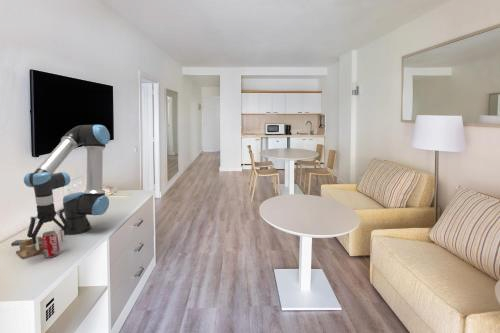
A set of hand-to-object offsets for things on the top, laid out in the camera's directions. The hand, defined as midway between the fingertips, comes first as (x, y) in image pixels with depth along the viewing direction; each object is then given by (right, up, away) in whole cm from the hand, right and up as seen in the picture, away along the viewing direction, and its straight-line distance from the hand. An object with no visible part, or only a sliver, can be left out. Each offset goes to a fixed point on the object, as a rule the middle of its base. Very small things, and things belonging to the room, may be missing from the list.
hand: (50, 245), depth 173 cm
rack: (-12, -5, +6) cm, 15 cm away
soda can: (0, -5, +1) cm, 5 cm away
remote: (-23, -4, +19) cm, 30 cm away
